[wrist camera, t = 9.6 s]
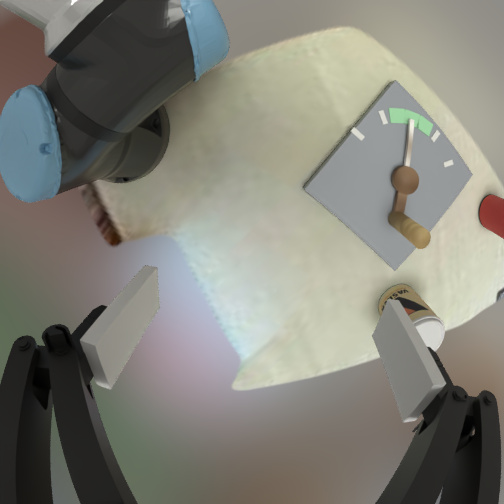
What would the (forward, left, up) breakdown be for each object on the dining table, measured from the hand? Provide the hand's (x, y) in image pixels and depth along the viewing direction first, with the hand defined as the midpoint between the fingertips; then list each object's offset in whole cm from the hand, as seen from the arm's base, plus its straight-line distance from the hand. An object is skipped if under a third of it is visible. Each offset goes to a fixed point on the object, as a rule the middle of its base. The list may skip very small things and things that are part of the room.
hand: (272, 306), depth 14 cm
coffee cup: (+29, 0, -27) cm, 40 cm away
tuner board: (+12, +15, -27) cm, 33 cm away
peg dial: (+12, +15, -24) cm, 31 cm away
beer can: (+32, +26, -27) cm, 49 cm away
